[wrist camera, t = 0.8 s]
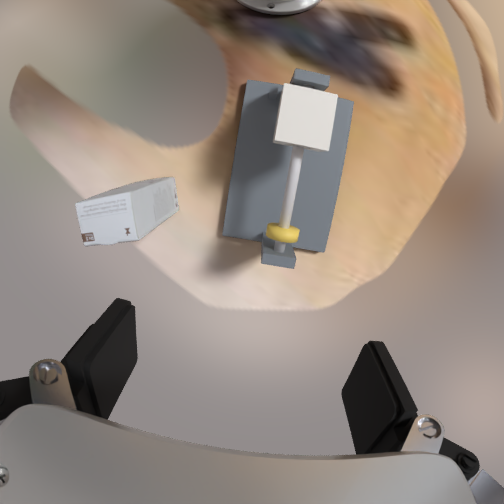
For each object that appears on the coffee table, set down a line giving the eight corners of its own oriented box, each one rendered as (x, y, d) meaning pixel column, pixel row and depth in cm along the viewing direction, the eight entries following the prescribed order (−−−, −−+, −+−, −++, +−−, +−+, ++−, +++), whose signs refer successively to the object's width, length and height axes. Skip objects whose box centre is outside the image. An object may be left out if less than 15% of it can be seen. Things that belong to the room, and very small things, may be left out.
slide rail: (247, 81, 29) (243, 58, 21) (351, 103, 29) (378, 88, 21) (223, 233, 34) (211, 257, 26) (322, 249, 35) (339, 278, 27)
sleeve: (281, 94, 25) (284, 83, 21) (326, 103, 25) (337, 94, 21) (272, 142, 26) (274, 140, 22) (318, 151, 26) (328, 151, 22)
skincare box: (175, 175, 32) (131, 186, 21) (180, 212, 34) (141, 241, 22) (129, 183, 33) (72, 199, 21) (134, 218, 34) (82, 248, 23)
